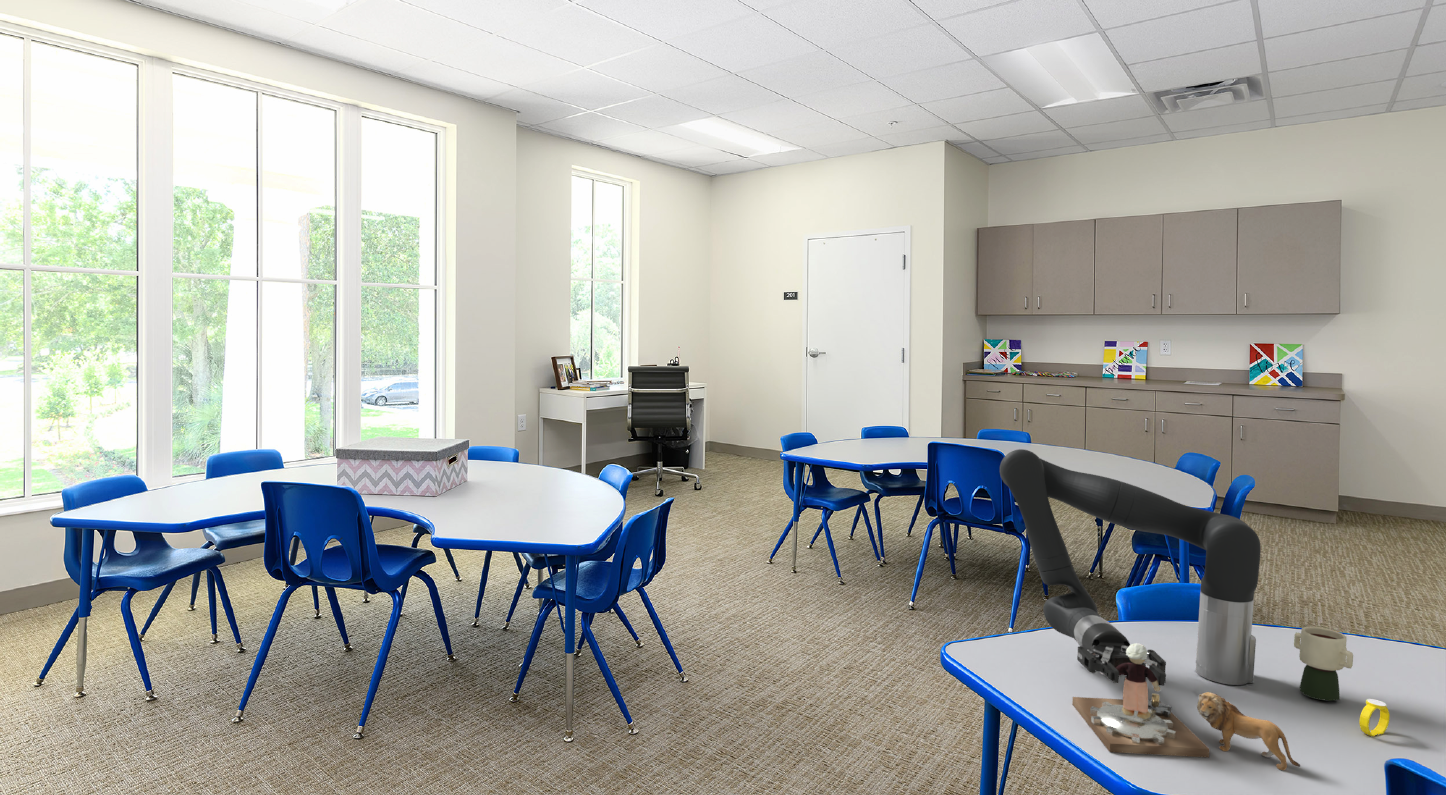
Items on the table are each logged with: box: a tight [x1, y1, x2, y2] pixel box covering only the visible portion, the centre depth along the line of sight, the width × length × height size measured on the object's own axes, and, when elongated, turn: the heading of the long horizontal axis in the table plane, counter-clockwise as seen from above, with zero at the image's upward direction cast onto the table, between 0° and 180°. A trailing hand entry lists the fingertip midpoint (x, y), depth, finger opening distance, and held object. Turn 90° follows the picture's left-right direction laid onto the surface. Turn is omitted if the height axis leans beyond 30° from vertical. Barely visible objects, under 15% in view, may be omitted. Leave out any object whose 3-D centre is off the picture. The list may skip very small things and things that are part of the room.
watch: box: [1358, 698, 1391, 737], centre depth 136 cm, size 6×3×6 cm, turn 110°
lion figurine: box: [1196, 691, 1302, 771], centre depth 129 cm, size 15×5×9 cm, turn 52°
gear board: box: [1071, 696, 1210, 758], centre depth 137 cm, size 16×17×2 cm
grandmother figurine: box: [1116, 642, 1161, 719], centre depth 135 cm, size 8×4×13 cm, turn 71°
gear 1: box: [1090, 702, 1176, 745], centre depth 135 cm, size 13×13×1 cm
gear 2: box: [1148, 692, 1173, 718], centre depth 141 cm, size 6×5×3 cm
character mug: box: [1293, 626, 1354, 701], centre depth 150 cm, size 11×7×13 cm, turn 17°
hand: (1139, 679), depth 133 cm, fingers closed on grandmother figurine, 7 cm apart
